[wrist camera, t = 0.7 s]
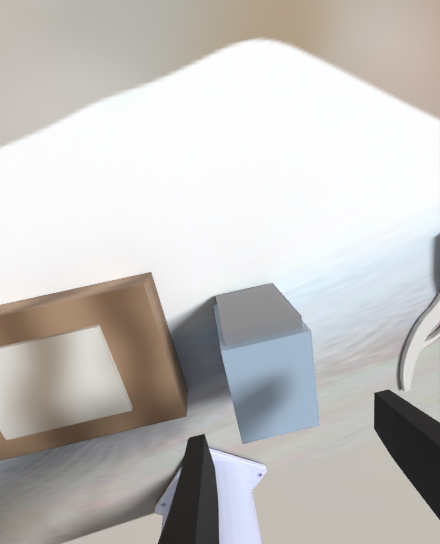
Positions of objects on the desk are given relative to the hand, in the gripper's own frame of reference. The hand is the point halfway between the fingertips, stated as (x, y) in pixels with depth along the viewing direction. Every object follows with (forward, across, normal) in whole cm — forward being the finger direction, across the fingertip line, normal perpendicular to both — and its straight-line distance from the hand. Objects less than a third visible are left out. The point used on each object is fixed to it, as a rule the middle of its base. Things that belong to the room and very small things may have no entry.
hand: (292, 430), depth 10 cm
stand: (+10, +14, 0) cm, 17 cm away
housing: (+10, 0, +2) cm, 10 cm away
